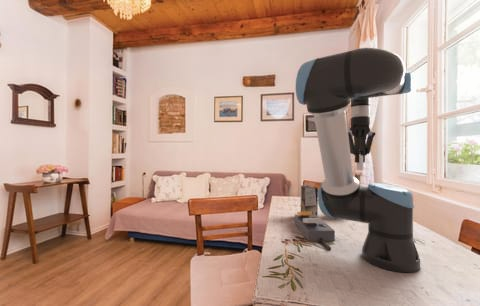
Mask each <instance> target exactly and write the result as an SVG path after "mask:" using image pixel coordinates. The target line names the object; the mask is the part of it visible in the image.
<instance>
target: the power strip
mask: <svg viewBox="0 0 480 306" xmlns="http://www.w3.org/2000/svg"><path fill="white" fill-rule="evenodd" d="M303 218H317V219H320V222H321V223H305V222H303ZM294 224H295V225H296V226H297V228H298V230H299V231H300V232H301V233H302V235H303V236H304V238H305V239H306V240H307V242H321V243H322V245H323V246H324V247H325V248H326V249H327V250H328V251H331V250H332V247H331V246H330V245H329V244H328V243H327V242H335V240H336V239H335V238H336V237H335V236H336V235H335V234H336V233H335V232H336V231H335V229H334V228H332V227H331V226H330V225H329V224H328V223H326V222H325V221H324V220H323V219H322V218H320V217H319V216H318V215H311V216H297V214H294Z"/></svg>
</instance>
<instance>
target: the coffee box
mask: <svg viewBox="0 0 480 306" xmlns="http://www.w3.org/2000/svg"><path fill="white" fill-rule="evenodd" d="M318 190H319V187H316V186H315V185H300V211H312V214H313V215H317V216H318V209H319V208H318V207H319V204H318Z"/></svg>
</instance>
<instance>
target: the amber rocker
mask: <svg viewBox="0 0 480 306" xmlns="http://www.w3.org/2000/svg"><path fill="white" fill-rule="evenodd" d="M296 215H297V216H311V215H313V214H312V211H301V210H300V211H298V212H296Z"/></svg>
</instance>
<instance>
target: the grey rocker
mask: <svg viewBox="0 0 480 306" xmlns="http://www.w3.org/2000/svg"><path fill="white" fill-rule="evenodd" d="M303 222H305V223H321V222H320V219H317V218H303Z"/></svg>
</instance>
